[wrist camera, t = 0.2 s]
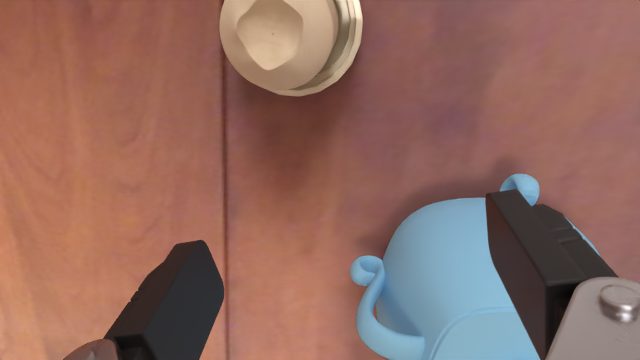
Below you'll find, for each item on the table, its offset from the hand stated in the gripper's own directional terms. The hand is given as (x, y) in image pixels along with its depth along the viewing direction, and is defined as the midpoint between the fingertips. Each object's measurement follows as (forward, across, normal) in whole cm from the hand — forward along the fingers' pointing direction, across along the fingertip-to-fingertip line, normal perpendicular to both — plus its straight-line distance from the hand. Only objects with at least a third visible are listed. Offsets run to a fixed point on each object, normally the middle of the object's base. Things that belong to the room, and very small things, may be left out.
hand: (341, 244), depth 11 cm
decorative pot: (+19, -7, +17) cm, 26 cm away
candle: (+19, +2, -5) cm, 20 cm away
